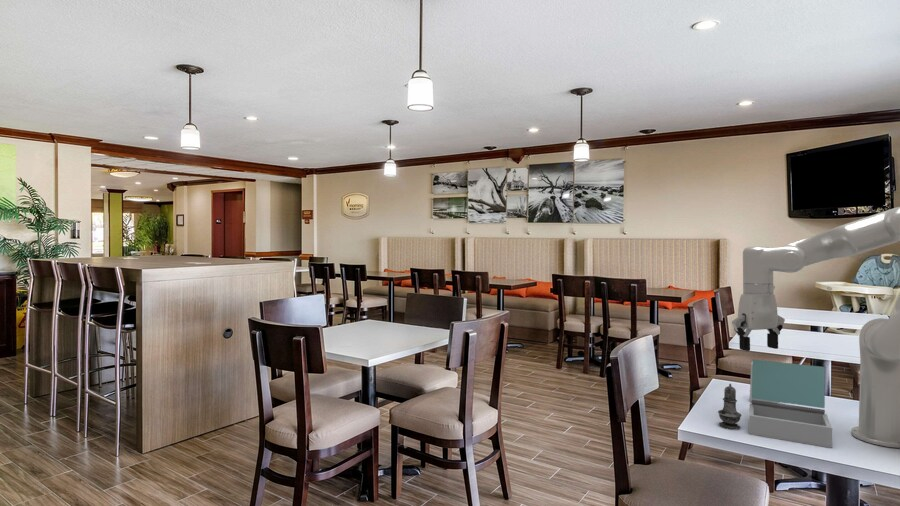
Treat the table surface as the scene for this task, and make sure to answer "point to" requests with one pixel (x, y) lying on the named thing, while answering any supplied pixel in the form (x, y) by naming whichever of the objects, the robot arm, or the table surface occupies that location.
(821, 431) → the hinged gray case
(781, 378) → the cover
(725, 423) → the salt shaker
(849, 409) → the table surface
